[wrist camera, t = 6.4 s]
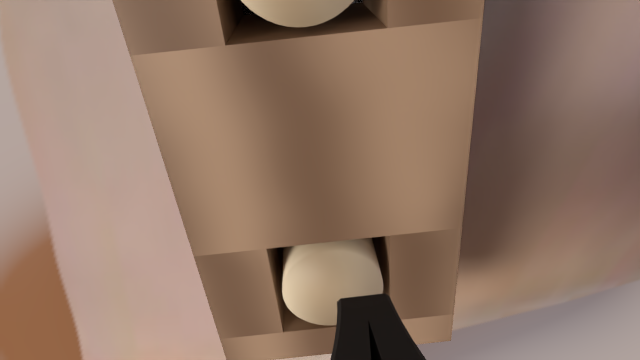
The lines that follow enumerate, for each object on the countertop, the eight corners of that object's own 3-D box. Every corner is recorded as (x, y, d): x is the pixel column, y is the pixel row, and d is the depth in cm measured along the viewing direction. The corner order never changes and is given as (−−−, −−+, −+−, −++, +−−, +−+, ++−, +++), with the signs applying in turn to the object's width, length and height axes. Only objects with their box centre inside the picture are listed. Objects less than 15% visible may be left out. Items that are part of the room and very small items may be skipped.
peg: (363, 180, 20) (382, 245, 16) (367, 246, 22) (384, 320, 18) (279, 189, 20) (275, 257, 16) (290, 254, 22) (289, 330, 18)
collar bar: (441, -226, 13) (514, -303, 9) (421, 264, 23) (451, 340, 19) (118, -191, 13) (32, -252, 9) (240, 284, 23) (228, 364, 19)
